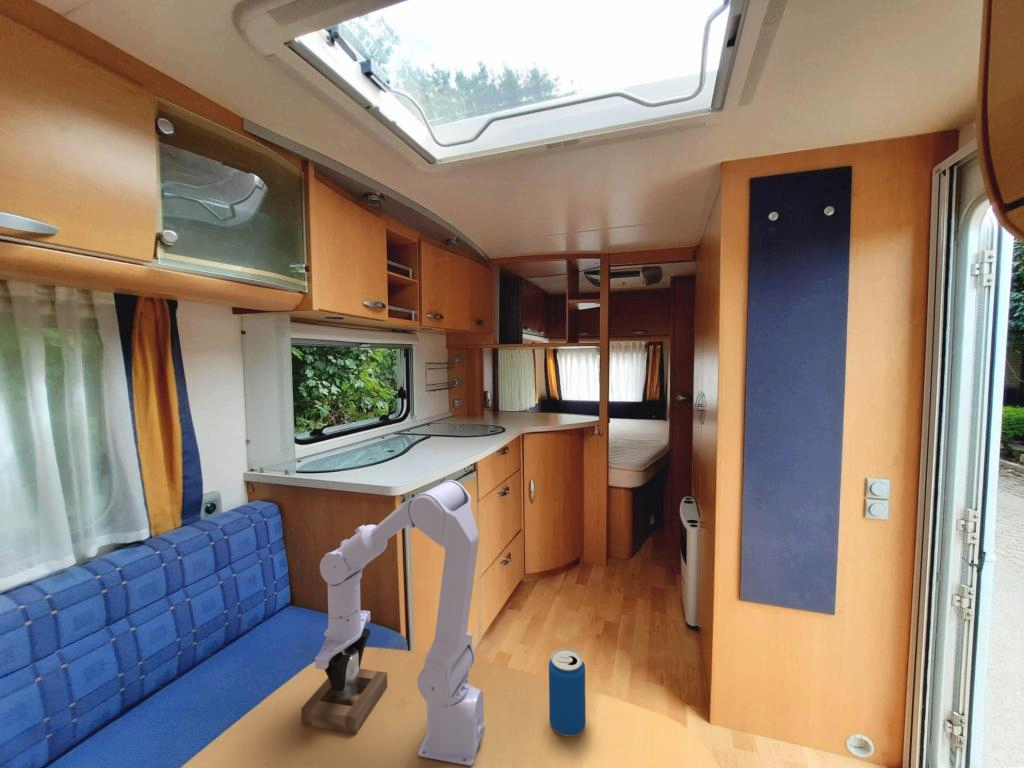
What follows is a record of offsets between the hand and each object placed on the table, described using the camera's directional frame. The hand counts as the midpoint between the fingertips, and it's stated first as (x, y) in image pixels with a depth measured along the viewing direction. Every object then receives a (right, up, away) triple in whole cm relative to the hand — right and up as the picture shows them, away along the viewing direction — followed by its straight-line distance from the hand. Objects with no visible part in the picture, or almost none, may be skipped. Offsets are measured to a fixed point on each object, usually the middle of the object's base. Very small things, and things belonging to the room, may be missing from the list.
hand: (346, 679), depth 77 cm
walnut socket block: (0, -5, 0) cm, 5 cm away
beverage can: (+42, -5, -5) cm, 42 cm away
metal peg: (0, -2, 0) cm, 2 cm away
